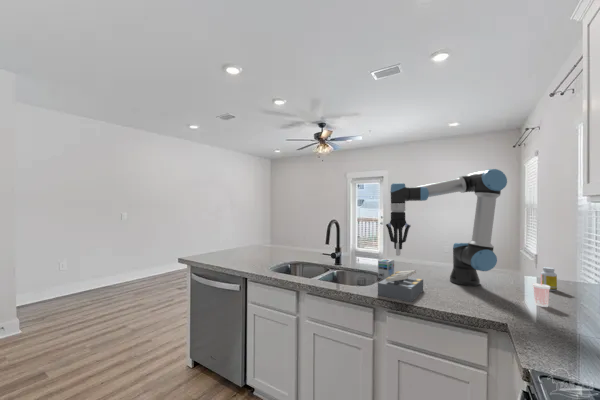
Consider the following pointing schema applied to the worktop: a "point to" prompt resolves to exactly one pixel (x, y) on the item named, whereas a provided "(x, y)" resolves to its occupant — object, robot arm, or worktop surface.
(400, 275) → the rocker
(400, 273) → the rocker
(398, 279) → the rocker
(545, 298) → the beverage cup
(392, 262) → the light bulb box
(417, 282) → the box
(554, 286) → the pill bottle
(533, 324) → the worktop surface
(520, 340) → the worktop surface
